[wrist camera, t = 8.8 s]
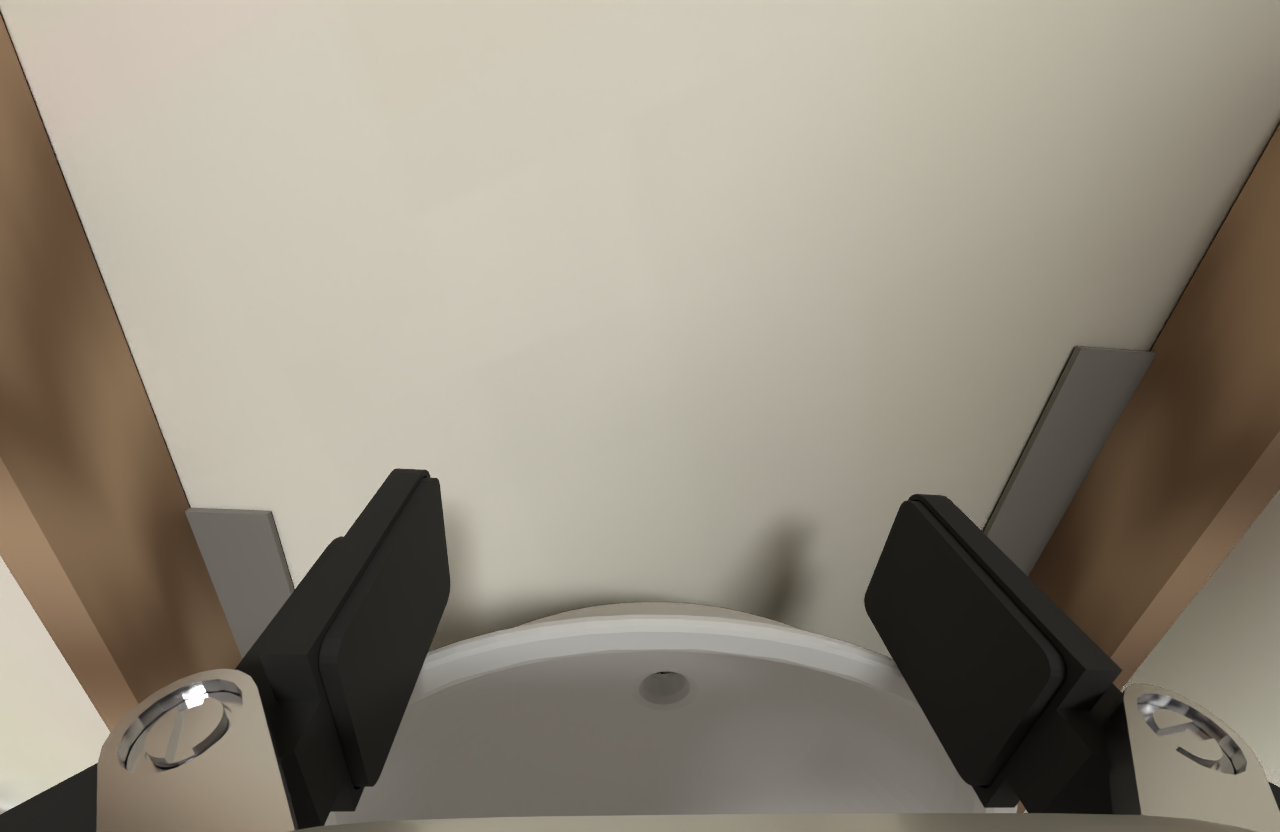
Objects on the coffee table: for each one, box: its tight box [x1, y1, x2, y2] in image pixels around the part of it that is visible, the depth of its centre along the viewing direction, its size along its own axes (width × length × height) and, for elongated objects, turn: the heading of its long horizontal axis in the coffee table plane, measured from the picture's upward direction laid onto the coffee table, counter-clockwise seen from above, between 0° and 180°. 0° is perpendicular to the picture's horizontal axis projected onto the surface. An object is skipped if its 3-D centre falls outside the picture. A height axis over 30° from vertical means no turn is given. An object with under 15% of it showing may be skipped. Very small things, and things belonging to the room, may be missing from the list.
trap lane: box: [0, 15, 1280, 813], centre depth 13 cm, size 28×26×5 cm
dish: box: [324, 602, 1018, 826], centre depth 14 cm, size 18×14×5 cm
